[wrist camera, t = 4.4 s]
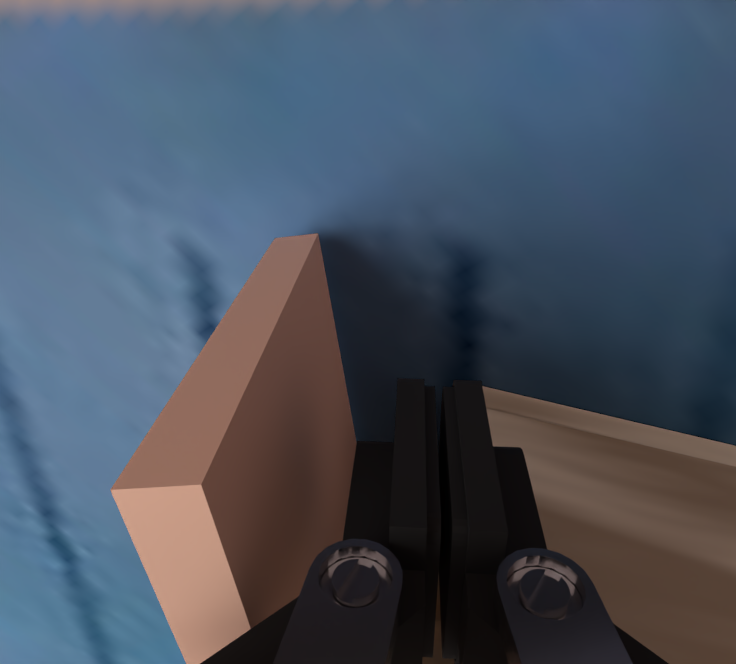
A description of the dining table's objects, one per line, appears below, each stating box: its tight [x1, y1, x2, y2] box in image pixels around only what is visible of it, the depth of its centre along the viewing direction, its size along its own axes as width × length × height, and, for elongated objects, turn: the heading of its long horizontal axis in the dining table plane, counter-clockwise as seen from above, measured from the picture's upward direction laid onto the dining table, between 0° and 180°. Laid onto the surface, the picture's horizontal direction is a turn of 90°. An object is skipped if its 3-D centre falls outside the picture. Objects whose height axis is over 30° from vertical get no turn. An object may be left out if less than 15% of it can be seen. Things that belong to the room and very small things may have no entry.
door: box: [111, 233, 357, 664], centre depth 15 cm, size 15×2×10 cm, turn 8°
